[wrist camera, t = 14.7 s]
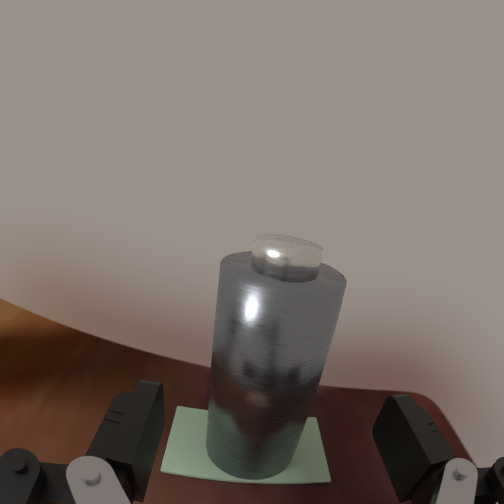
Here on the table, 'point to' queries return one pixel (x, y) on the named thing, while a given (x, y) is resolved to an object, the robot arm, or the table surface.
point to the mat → (200, 466)
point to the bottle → (268, 352)
